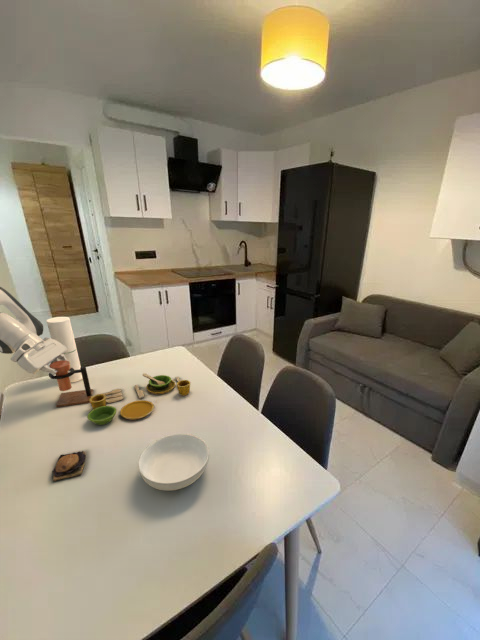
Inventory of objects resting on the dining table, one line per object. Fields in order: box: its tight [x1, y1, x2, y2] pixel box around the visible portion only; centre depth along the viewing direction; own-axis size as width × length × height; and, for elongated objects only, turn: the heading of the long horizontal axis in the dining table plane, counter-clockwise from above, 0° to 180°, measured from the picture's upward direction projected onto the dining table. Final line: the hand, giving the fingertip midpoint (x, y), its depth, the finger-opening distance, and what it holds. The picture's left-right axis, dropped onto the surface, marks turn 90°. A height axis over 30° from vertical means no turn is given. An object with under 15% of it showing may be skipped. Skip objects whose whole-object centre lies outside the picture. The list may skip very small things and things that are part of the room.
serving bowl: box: [137, 433, 210, 492], centre depth 90 cm, size 21×21×7 cm
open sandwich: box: [52, 450, 87, 482], centre depth 91 cm, size 11×8×4 cm
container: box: [46, 316, 83, 384], centre depth 135 cm, size 9×9×30 cm
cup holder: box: [48, 365, 94, 408], centre depth 122 cm, size 13×10×14 cm
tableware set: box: [86, 372, 191, 426], centre depth 125 cm, size 41×28×6 cm
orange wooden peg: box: [48, 360, 73, 392], centre depth 120 cm, size 7×7×12 cm
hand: (62, 368), depth 118 cm, fingers closed on orange wooden peg, 7 cm apart
